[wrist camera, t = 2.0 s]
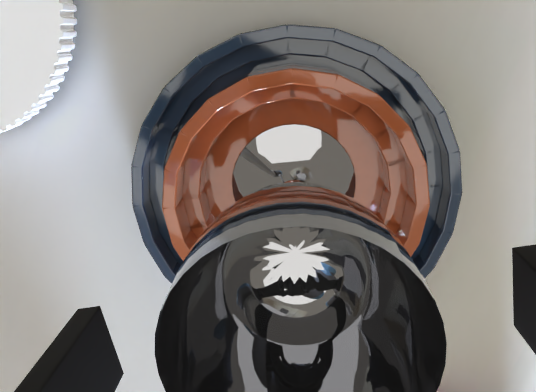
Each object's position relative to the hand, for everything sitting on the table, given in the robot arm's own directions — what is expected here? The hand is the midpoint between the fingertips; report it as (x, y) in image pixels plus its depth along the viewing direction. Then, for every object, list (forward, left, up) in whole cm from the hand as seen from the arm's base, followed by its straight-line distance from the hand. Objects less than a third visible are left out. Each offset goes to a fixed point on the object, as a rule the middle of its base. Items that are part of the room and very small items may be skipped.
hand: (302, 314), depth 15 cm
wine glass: (0, 0, -13) cm, 13 cm away
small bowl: (0, 0, -13) cm, 13 cm away
